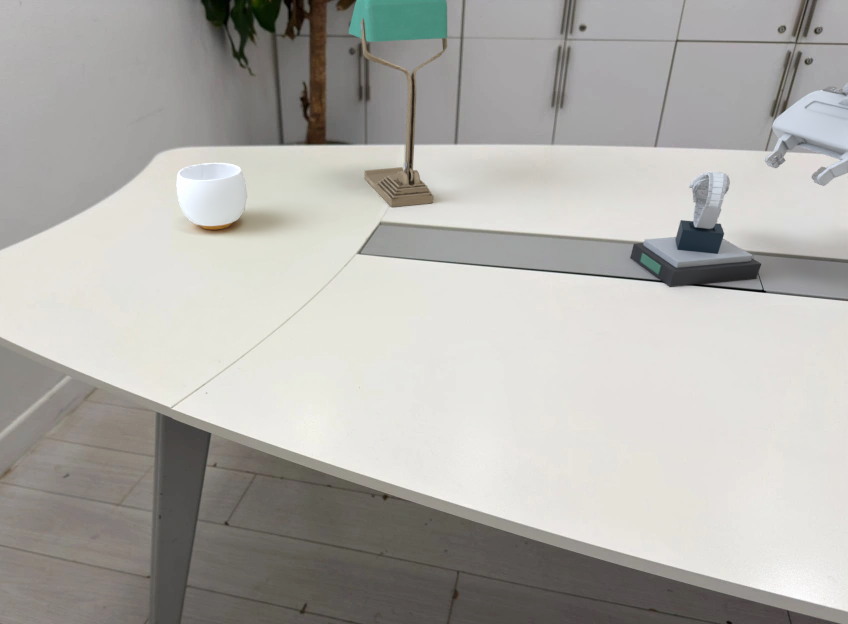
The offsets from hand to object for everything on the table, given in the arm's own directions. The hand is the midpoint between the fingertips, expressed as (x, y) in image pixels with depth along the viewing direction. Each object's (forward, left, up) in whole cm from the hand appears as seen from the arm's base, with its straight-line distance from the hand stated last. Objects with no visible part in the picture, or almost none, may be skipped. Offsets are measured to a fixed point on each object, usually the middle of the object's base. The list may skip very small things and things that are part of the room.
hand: (792, 172), depth 97 cm
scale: (+12, 0, -14) cm, 18 cm away
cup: (+84, -35, -14) cm, 92 cm away
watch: (+12, 0, -11) cm, 16 cm away
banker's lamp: (+47, -48, -14) cm, 68 cm away
